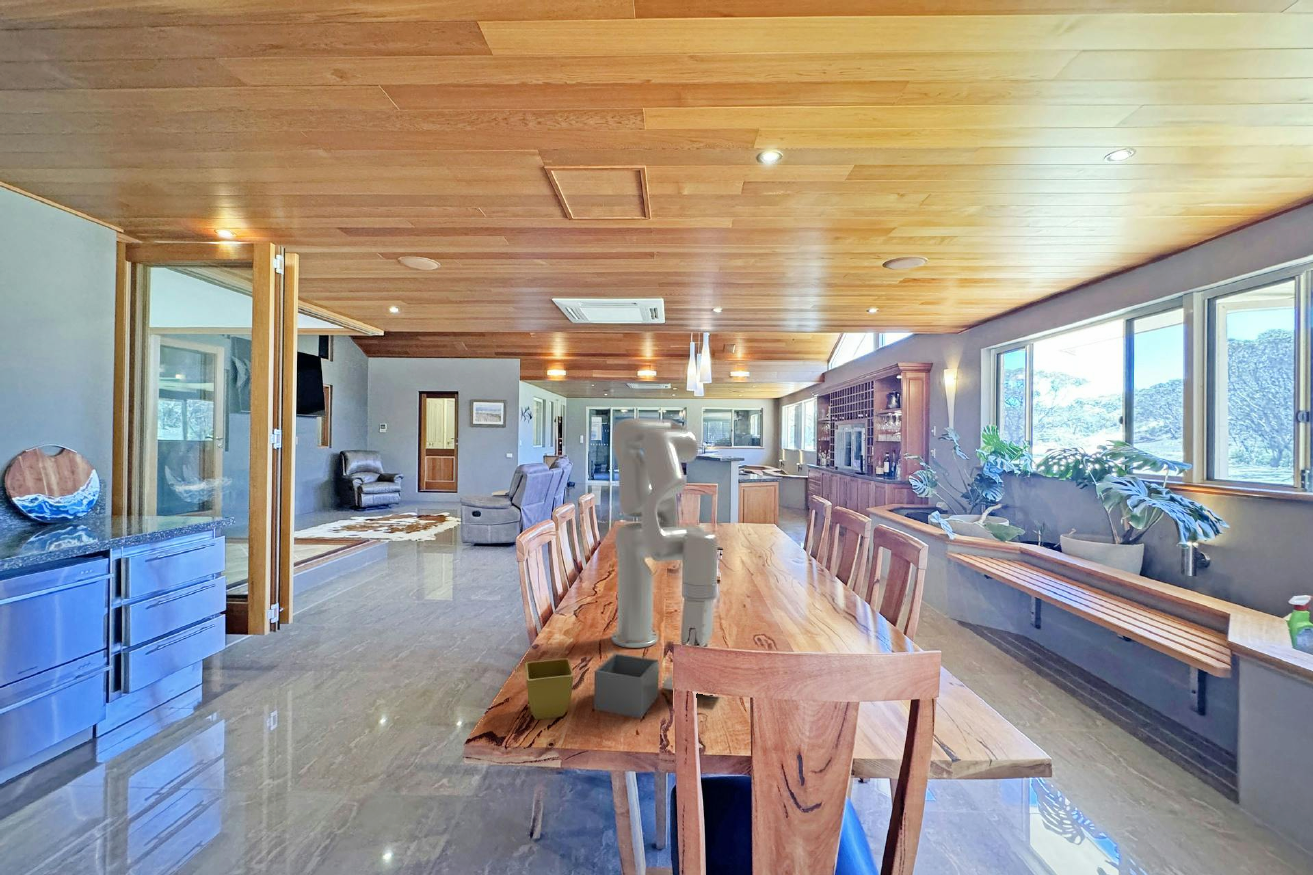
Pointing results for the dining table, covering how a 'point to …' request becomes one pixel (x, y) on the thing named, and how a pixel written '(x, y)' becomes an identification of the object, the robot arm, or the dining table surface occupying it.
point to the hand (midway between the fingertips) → (698, 674)
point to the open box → (626, 685)
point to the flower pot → (549, 687)
